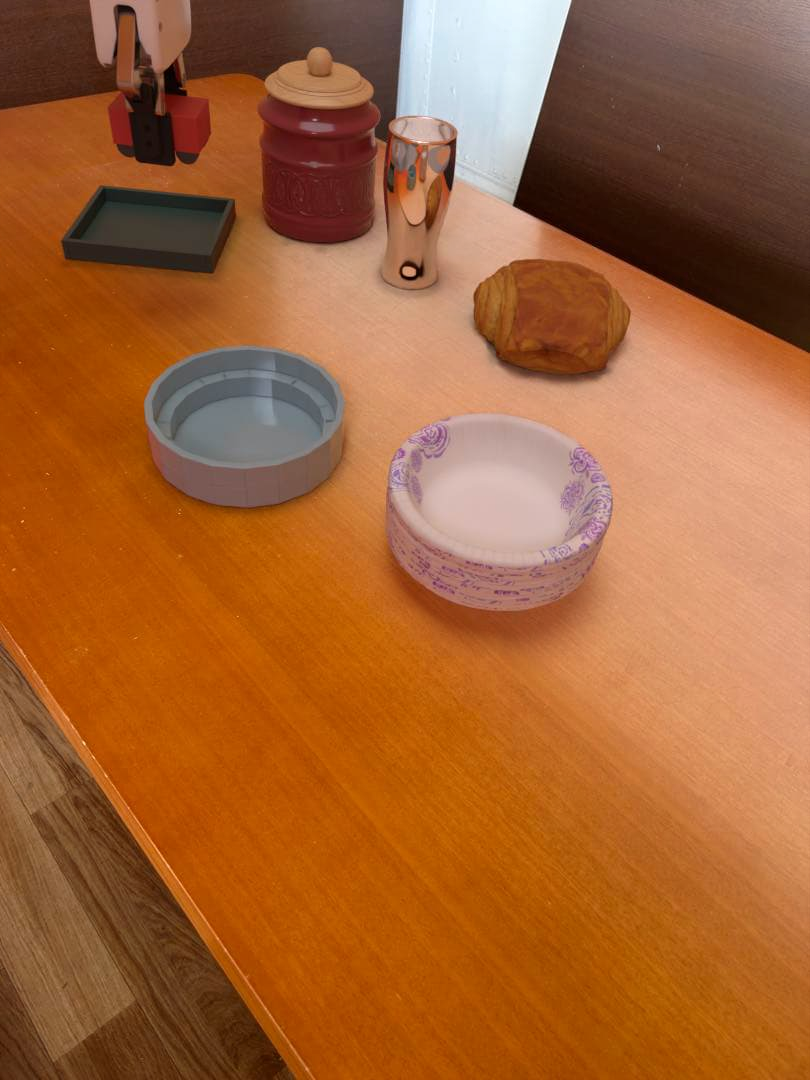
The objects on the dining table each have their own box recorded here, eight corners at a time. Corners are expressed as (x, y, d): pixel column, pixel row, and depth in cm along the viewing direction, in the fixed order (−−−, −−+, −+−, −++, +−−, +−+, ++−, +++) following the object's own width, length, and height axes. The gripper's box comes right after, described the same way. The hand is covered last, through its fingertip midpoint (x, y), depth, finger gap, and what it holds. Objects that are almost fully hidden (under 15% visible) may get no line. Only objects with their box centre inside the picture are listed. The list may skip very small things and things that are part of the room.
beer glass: (367, 263, 86) (375, 116, 76) (425, 255, 89) (441, 112, 78) (391, 296, 82) (404, 146, 71) (451, 287, 85) (472, 140, 74)
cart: (115, 156, 65) (107, 107, 62) (131, 136, 68) (123, 87, 65) (200, 167, 65) (195, 118, 63) (212, 146, 68) (208, 98, 66)
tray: (65, 258, 82) (60, 240, 80) (103, 202, 91) (99, 184, 89) (212, 273, 82) (210, 255, 81) (236, 215, 91) (234, 198, 90)
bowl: (130, 502, 59) (119, 457, 56) (178, 381, 70) (171, 337, 66) (333, 520, 60) (334, 476, 57) (350, 397, 70) (352, 354, 67)
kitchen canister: (240, 210, 92) (228, 37, 79) (327, 184, 99) (329, 21, 86) (308, 256, 86) (307, 78, 73) (396, 226, 93) (410, 58, 80)
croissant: (480, 308, 86) (481, 236, 81) (627, 316, 83) (639, 242, 78) (459, 381, 76) (459, 304, 71) (626, 393, 73) (639, 314, 68)
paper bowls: (385, 478, 63) (393, 398, 58) (573, 494, 64) (599, 416, 58) (375, 632, 53) (382, 554, 47) (598, 649, 54) (633, 574, 48)
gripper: (113, -154, 59) (148, 109, 72) (25, -116, 48) (86, 188, 61) (213, -140, 59) (230, 119, 73) (151, -100, 48) (184, 199, 61)
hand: (164, 148), depth 67 cm, fingers closed on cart, 4 cm apart
